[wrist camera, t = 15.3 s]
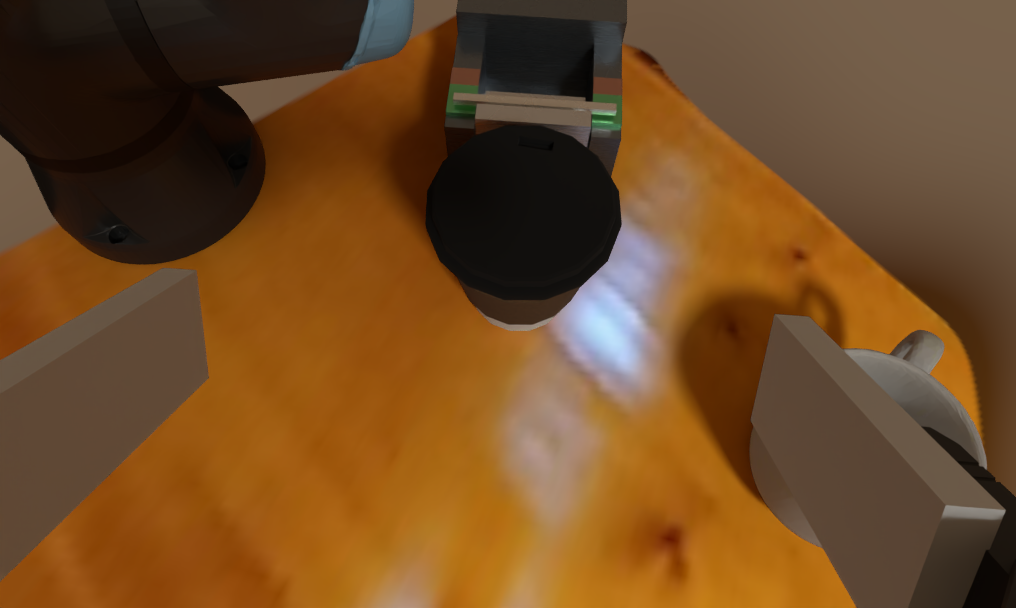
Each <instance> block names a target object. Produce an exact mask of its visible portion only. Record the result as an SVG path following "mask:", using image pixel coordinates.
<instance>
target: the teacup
mask: <svg viewBox="0 0 1016 608" xmlns="http://www.w3.org/2000/svg"><path fill="white" fill-rule="evenodd" d="M842 350H844V351H845V352H846V353H847V354H848V355H849V356H850V357H851V358H852V359H853V360H854V361H855V362H856V363H857V364H858V365H859V366H860V367H861V368H862V369H863V370H864V371H865V372H866V373H867V374H868V375H869V376H870V377H871V378H872V379H873V380H874V381H875V382H876V383H877V384H878V385H879V386H880V387H881V388H882V389H883V390H884V391H885V392H886V393H887V394H888V395H889V396H890V397H891V398H892V399H893V400H894V401H895V402H896V403H897V404H898V405H899V406H900V407H902V408H903V409H904V410H905V411H906V412H907V413H908V414H909V415H910V416H911V417H912V418H913V419H914V420H915V421H916V422H917V423H918V424H919V425H920V426H923V427H931V428H933V429H934V430H936V431H938V432H939V433H941V434H943V435H945V436H946V437H948V438H950V439H951V440H953V441H955V442H956V443H958V444H959V445H961V446H962V447H963V448H964V449H965V450H966V451H967V452H968V453H969V454H970V455H971V456H972V457H973V458H974V459H976V460H977V461H978V462H979V466H983V467H984V468H985V469H986V470H987V462H986V456H985V452H984V448H983V445H982V441H981V438H980V436H979V433H978V431H977V429H976V427H975V425H974V422H973V421H972V420H971V418H970V416H969V415H968V413H967V411H966V410H965V409H964V407H963V406H962V405H961V403H960V402H959V401H958V400H957V399H956V398H955V397H954V396H953V395H952V394H951V393H950V392H949V391H948V390H947V389H946V388H945V387H944V386H943V385H942V384H941V383H939V382H938V381H937V380H936V379H935V378H934V377H932V376H931V375H930V372H931V371H932V369H933V368H934V367H935V365H936V364H937V363H938V361H939V359H940V358H941V356H942V354H943V351H944V343H943V342H942V340H941V339H940V338H939V337H937V336H936V335H934V334H932V333H930V332H928V331H924V330H917V331H914V332H912V333H911V334H909V335H908V336H907V337H906V338H905V339H903V340H902V341H901V342H900V343H899V344H898V345H897V346H896V347H895V348H894V350H893V351H892V352H891V353H890V354H885V353H882V352H878V351H874V350H869V349H857V348H853V349H842ZM749 454H750V464H751V470H752V474H753V478H754V480H755V483H756V486H757V488H758V490H759V492H760V494H761V496H762V498H763V500H764V502H765V503H766V505H767V506H768V507H769V509H770V510H771V511H772V513H773V514H774V515H775V516H776V517H777V518H778V519H779V520H780V521H781V522H782V523H783V524H784V525H785V526H786V527H787V528H788V529H790V530H791V531H792V532H794V533H795V534H796V535H798V536H799V537H801V538H802V539H804V540H806V541H808V542H810V543H812V544H814V545H816V546H818V547H821V548H823V547H822V545H821V544H820V542H819V540H818V538H817V537H816V535H815V533H814V531H813V530H812V528H811V526H810V524H809V523H808V521H807V519H806V517H805V516H804V514H803V512H802V510H801V509H800V507H799V505H798V503H797V502H796V500H795V498H794V496H793V495H792V493H791V491H790V489H789V488H788V486H787V484H786V482H785V481H784V479H783V477H782V475H781V473H780V472H779V470H778V468H777V466H776V465H775V463H774V461H773V459H772V458H771V456H770V454H769V452H768V451H767V449H766V447H765V445H764V444H763V442H762V440H761V438H760V437H759V435H758V433H757V431H756V430H755V428H754V427H753V430H752V433H751V439H750V449H749Z"/></svg>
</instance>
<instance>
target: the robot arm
mask: <svg viewBox="0 0 1016 608" xmlns="http://www.w3.org/2000/svg"><path fill="white" fill-rule="evenodd" d="M413 12H414V0H0V135H1V136H2V137H3V138H4V139H5V140H6V141H8V142H9V143H10V144H11V145H12V146H13V147H14V148H15V149H17V150H18V151H19V152H20V153H21V154H22V155H23V156H24V157H25V159H26V161H27V163H28V165H29V167H30V169H31V172H32V174H33V176H34V178H35V180H36V182H37V185H38V187H39V189H40V191H41V193H42V195H43V198H44V200H45V202H46V204H47V206H48V209H49V210H50V212H51V214H52V215H53V217H54V218H55V219H56V221H57V222H58V223H59V224H60V226H61V227H62V228H63V229H64V230H65V231H67V232H68V233H69V234H70V235H71V236H72V237H74V238H75V239H76V240H77V241H78V242H80V243H81V244H82V245H83V246H84V247H86V248H87V249H88V250H90V251H92V252H93V253H95V254H97V255H99V256H101V257H104V258H107V259H110V260H113V261H117V262H121V263H128V264H157V263H164V262H169V261H173V260H177V259H181V258H184V257H187V256H189V255H192V254H194V253H197V252H199V251H201V250H203V249H205V248H207V247H209V246H210V245H212V244H214V243H215V242H217V241H218V240H220V239H221V238H223V237H224V236H225V235H227V234H228V233H229V232H230V231H231V230H232V229H234V228H235V227H236V226H237V225H238V224H239V223H240V222H241V220H242V219H243V218H244V217H245V216H246V214H247V213H248V212H249V210H250V209H251V207H252V206H253V204H254V202H255V201H256V199H257V197H258V194H259V192H260V190H261V187H262V184H263V180H264V175H265V154H264V149H263V146H262V143H261V140H260V138H259V136H258V134H257V132H256V130H255V128H254V127H253V125H252V123H251V121H250V119H249V118H248V116H247V114H246V113H245V112H244V110H243V109H242V108H241V107H240V106H239V105H238V103H237V102H236V101H235V100H233V99H232V98H231V97H230V96H229V95H228V94H226V93H225V92H224V91H223V90H221V89H220V88H219V87H218V86H224V85H232V84H238V83H246V82H253V81H261V80H268V79H275V78H283V77H291V76H298V75H305V74H313V73H320V72H327V71H335V70H349V69H351V68H352V67H354V66H355V65H359V64H363V63H368V62H372V61H377V60H381V59H385V58H389V57H392V56H394V55H396V54H397V53H399V52H400V51H401V50H402V49H403V47H404V46H405V45H406V43H407V41H408V39H409V37H410V33H411V29H412V23H413ZM208 378H209V376H208V367H207V358H206V350H205V341H204V332H203V324H202V315H201V306H200V297H199V289H198V280H197V271H196V270H185V269H172V268H162V269H160V270H159V271H157V272H155V273H153V274H152V275H150V276H148V277H146V278H145V279H143V280H141V281H139V282H138V283H136V284H134V285H132V286H130V287H129V288H127V289H125V290H123V291H122V292H120V293H118V294H116V295H115V296H113V297H111V298H109V299H108V300H106V301H104V302H102V303H101V304H99V305H97V306H95V307H94V308H92V309H90V310H88V311H86V312H85V313H83V314H81V315H79V316H78V317H76V318H74V319H72V320H71V321H69V322H67V323H65V324H64V325H62V326H60V327H58V328H57V329H55V330H53V331H51V332H49V333H48V334H46V335H44V336H42V337H41V338H39V339H37V340H35V341H34V342H32V343H30V344H28V345H27V346H25V347H23V348H21V349H20V350H18V351H16V352H14V353H12V354H11V355H9V356H7V357H5V358H4V359H2V360H0V581H1V580H2V579H3V578H4V577H5V576H6V575H7V574H8V573H9V572H10V571H11V570H12V569H13V568H14V567H15V566H17V565H18V564H19V563H20V562H21V561H22V560H23V559H24V558H25V557H26V556H27V555H28V554H29V553H30V552H31V551H32V550H33V549H34V548H35V547H36V546H37V545H38V544H39V543H40V542H41V541H42V540H43V539H44V538H45V537H46V536H47V535H48V534H49V533H50V532H51V531H52V530H53V529H54V528H55V527H56V526H57V525H59V524H60V523H61V522H62V521H63V520H64V519H65V518H66V517H67V516H68V515H69V514H70V513H71V512H72V511H73V510H74V509H75V508H76V507H77V506H78V505H79V504H80V503H81V502H82V501H83V500H84V499H85V498H86V497H87V496H88V495H89V494H90V493H91V492H92V491H93V490H94V489H95V488H96V487H97V486H98V485H99V484H101V483H102V482H103V481H104V480H105V479H106V478H107V477H108V476H109V475H110V474H111V473H112V472H113V471H114V470H115V469H116V468H117V467H118V466H119V465H120V464H121V463H122V462H123V461H124V460H125V459H126V458H127V457H128V456H129V455H130V454H131V453H132V452H133V451H134V450H135V449H136V448H137V447H138V446H139V445H140V444H141V443H143V442H144V441H145V440H146V439H147V438H148V437H149V436H150V435H151V434H152V433H153V432H154V431H155V430H156V429H157V428H158V427H159V426H160V425H161V424H162V423H163V422H164V421H165V420H166V419H167V418H168V417H169V416H170V415H171V414H172V413H173V412H174V411H175V410H176V409H177V408H178V407H179V406H180V405H181V404H182V403H183V402H184V401H186V400H187V399H188V398H189V397H190V396H191V395H192V394H193V393H194V392H195V391H196V390H197V389H198V388H199V387H200V386H201V385H202V384H203V383H204V382H205V381H206V380H207V379H208ZM750 421H751V423H752V424H753V426H754V428H755V430H756V431H757V433H758V435H759V437H760V438H761V440H762V442H763V444H764V445H765V447H766V449H767V451H768V452H769V454H770V456H771V458H772V459H773V461H774V463H775V465H776V466H777V468H778V470H779V472H780V473H781V475H782V477H783V479H784V481H785V482H786V484H787V486H788V488H789V489H790V491H791V493H792V495H793V496H794V498H795V500H796V502H797V503H798V505H799V507H800V509H801V510H802V512H803V514H804V516H805V517H806V519H807V521H808V523H809V524H810V526H811V528H812V530H813V531H814V533H815V535H816V537H817V538H818V540H819V542H820V544H821V545H822V547H823V549H824V551H825V552H826V554H827V556H828V558H829V560H830V561H831V563H832V565H833V567H834V568H835V570H836V572H837V574H838V575H839V577H840V579H841V581H842V582H843V584H844V586H845V588H846V589H847V591H848V593H849V595H850V596H851V598H852V600H853V602H854V603H855V605H856V607H857V608H1016V497H1015V496H1014V495H1013V494H1012V493H1011V492H1010V491H1009V490H1008V489H1006V488H1005V487H1004V486H1003V485H1002V484H1001V483H1000V482H996V481H995V477H993V475H991V473H989V472H988V471H987V470H986V469H985V468H984V467H983V466H979V462H978V461H977V460H976V459H974V458H973V457H972V456H971V455H970V454H969V453H968V452H967V451H966V450H965V449H964V448H963V447H962V446H961V445H959V444H958V443H956V442H955V441H953V440H951V439H950V438H948V437H946V436H945V435H943V434H941V433H939V432H938V431H936V430H934V429H933V428H931V427H923V426H920V425H919V424H918V423H917V422H916V421H915V420H914V419H913V418H912V417H911V416H910V415H909V414H908V413H907V412H906V411H905V410H904V409H903V408H902V407H900V406H899V405H898V404H897V403H896V402H895V401H894V400H893V399H892V398H891V397H890V396H889V395H888V394H887V393H886V392H885V391H884V390H883V389H882V388H881V387H880V386H879V385H878V384H877V383H876V382H875V381H874V380H873V379H872V378H871V377H870V376H869V375H868V374H867V373H866V372H865V371H864V370H863V369H862V368H861V367H860V366H859V365H858V364H857V363H856V362H855V361H854V360H853V359H852V358H851V357H850V356H849V355H848V354H847V353H846V352H845V351H844V350H842V349H841V348H840V347H839V346H838V345H837V344H836V343H835V342H834V341H833V340H832V339H831V338H830V337H829V336H828V335H827V334H826V333H825V332H824V331H823V330H822V329H821V328H820V327H819V326H818V325H817V324H816V323H815V322H814V321H813V320H812V319H811V318H810V317H808V316H794V315H781V314H774V319H773V323H772V328H771V332H770V337H769V341H768V345H767V350H766V354H765V359H764V363H763V367H762V372H761V376H760V381H759V385H758V389H757V394H756V398H755V403H754V407H753V411H752V416H751V420H750Z"/></svg>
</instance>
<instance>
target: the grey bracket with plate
mask: <svg viewBox="0 0 1016 608" xmlns="http://www.w3.org/2000/svg"><path fill="white" fill-rule="evenodd" d="M453 105H468V106H477V108H476V116H475V126H476V135H478V134H481V133H484V132H487V131H490V130H493V129H496V128H499V127H502V126H505V125H540V126H543V127H546V128H549V129H552V130H555V131H558V132H561V133H564V134H567V135H570V136H573V137H574V138H575V139H577V140H578V141H579V142H580V143H582V144H583V145H584V146H585V147H587V144H588V139H589V134H590V129H591V114H597V115H612V116H615V115H616V104H614V103H599V102H585V98H583V97H569V96H554V95H540V94H525V93H510V92H496V91H486V93H485V95H483V94H469V93H454V96H453Z"/></svg>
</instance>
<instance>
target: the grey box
mask: <svg viewBox="0 0 1016 608" xmlns="http://www.w3.org/2000/svg"><path fill="white" fill-rule="evenodd" d="M456 14H457V28H458V37H457V44H456V51H455V58H454V64H453V67H452V73H451V80H450V87H449V93H448V100H447V107H446V119H445V126H444V128H445V136H446V145H447V153H448V156H449V155H450V154H451V153H453V152H454V151H455V150H456V149H458V148H459V147H460V146H461V145H463V144H464V143H465V142H466V141H468V140H469V139H470V138H471V137H473V136H475V135H476V126H475V116H476V108H477V106H468V105H453V96H454V93H469V94H483V95H485V93H486V91H496V92H510V93H525V94H540V95H554V96H569V97H583V98H585V102H599V103H614V104H616V115H615V116H612V115H597V114H591V129H590V134H589V139H588V144H587V148H588V149H589V150H591V151H592V152H593V153H594V154H596V155H597V156H598V157H599V159H600V160H601V162H602V163H603V164H604V166H605V168H606V170H607V171H608V173H609V175H610V177H611V175H612V171H613V167H614V163H615V160H616V156H617V152H618V148H619V145H620V141H621V126H622V42H623V37H624V32H625V28H626V24H627V0H458V4H457V10H456Z"/></svg>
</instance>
